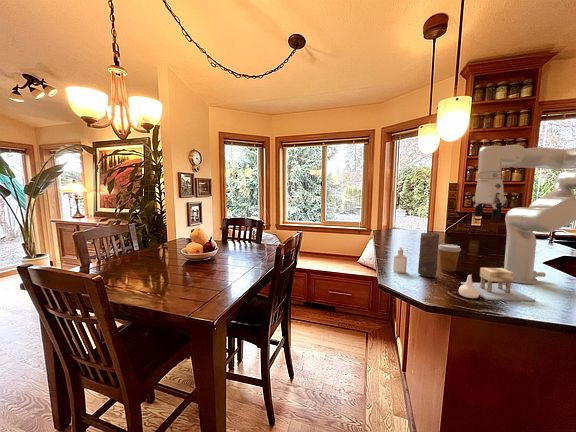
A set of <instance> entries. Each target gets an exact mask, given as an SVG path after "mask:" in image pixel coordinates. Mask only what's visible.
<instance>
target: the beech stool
mask: <svg viewBox="0 0 576 432" xmlns="http://www.w3.org/2000/svg"><path fill="white" fill-rule="evenodd" d="M479 277H480V283H481V284H480V288H482V289H485V283H486V281H487V283H488V284H487V292H489V293H492V283H493V282H497V283H498V289H502V287H503V283H504V282H505V285H506V287H505V293H510V288H512V287H511V286H512V284H511V283H514V282H513V272H511V271H508V270H506V269H504V267H480V269H479Z"/></svg>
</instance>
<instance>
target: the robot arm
mask: <svg viewBox="0 0 576 432" xmlns="http://www.w3.org/2000/svg"><path fill="white" fill-rule="evenodd" d="M502 167H503V168H524V169H545V170H557V171H558V170H565V171H562V172H559V174H557V176H556V177H555V179H554V185H553V190H552V191H551V192H549V193H547V194H546V195H543V196H541V197H539V198H537V199H535V200H534V201H532V202H531V203H530V204H529V206H528V207H522V206H521V207H520V206H519V207H513V208H510V210H508V211H507V213H505V218H504V220H505V226H506V242H505V243H506V244H505V252H504V264H503V265H504V266H503V269H506V270H508V271H511V272H513V282H512V283H518V284H524V285H526V284H527V285H535V284H536V285H537V284H538V281H539V279H538V278H540V277H543V278H545V277H547V275H546V272H543V271H541V272H540V271H539V272H538V271H536V270H534V269H535V260H536V252H537V251H536V250H537V249H536V248H537V237H536V235H535V234H534V233H542V234H543V233H544V234H547V233H553V232H556V231H557V230H560V229H561V228H564V227H565V226H567V225H569V224H572V223H574V222H575V221H576V195H575V193H574V190H576V147H571V148H553V147H552V148H551V147H543V146H542V147H540V146H539V147H538V146H537V147H528V148H525V146H523V145H520V144H510V145H508V144H507V145H486V146H483V147H481V148H480V149H479V151H478V167H477V168H478V169H477V182H476V188H475V195H474V196H472V197H471V200H472V204H473V207H474V217H476V218H477V217H483V216H484V207H483V206H484V205H491V206H492V209H491V211H492V212H491V219H492V220H500V219H501V218H502V209H504V207H505V205H506V204H505V203H506V202H507V201H508V200H507V197H506V196H505V194H504V183H503V179H501V178H502Z"/></svg>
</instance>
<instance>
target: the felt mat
mask: <svg viewBox="0 0 576 432" xmlns="http://www.w3.org/2000/svg"><path fill="white" fill-rule="evenodd" d="M465 284H466V281H465V282H464V281H463V282H462V281H461V282H460V285H461V286H462V285H465ZM472 284H473V286H474V287H476V288H477V289H478V291H479V297H482V298H483V299H484V300H486V301H487V300H488V301H508V302H509V301H511V302H512V301H513V302H531V301H535V302H536V299H534V298H532V297H530V296H528V295H526V294H524V293H522V292H520V291H517V290H516V289H513V288H512V287H511V288H510V293H505V287H506V284H503V287H502V289H498V282H497V283H496V282H495V283H493V282H492V293H489V292H487V284H488V282H485V289H482V288H480V284H481V282H472Z"/></svg>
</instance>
